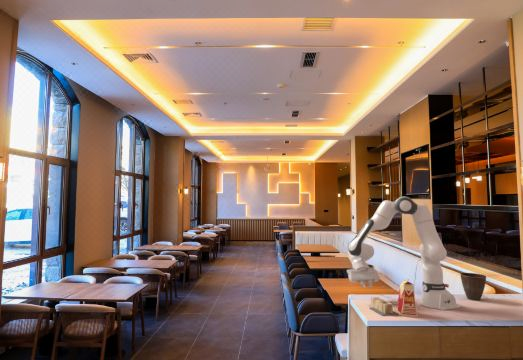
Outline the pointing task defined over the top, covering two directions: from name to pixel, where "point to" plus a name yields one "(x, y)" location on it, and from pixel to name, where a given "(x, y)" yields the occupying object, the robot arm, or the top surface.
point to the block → (382, 305)
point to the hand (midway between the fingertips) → (368, 287)
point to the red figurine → (407, 300)
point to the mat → (382, 312)
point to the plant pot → (473, 285)
